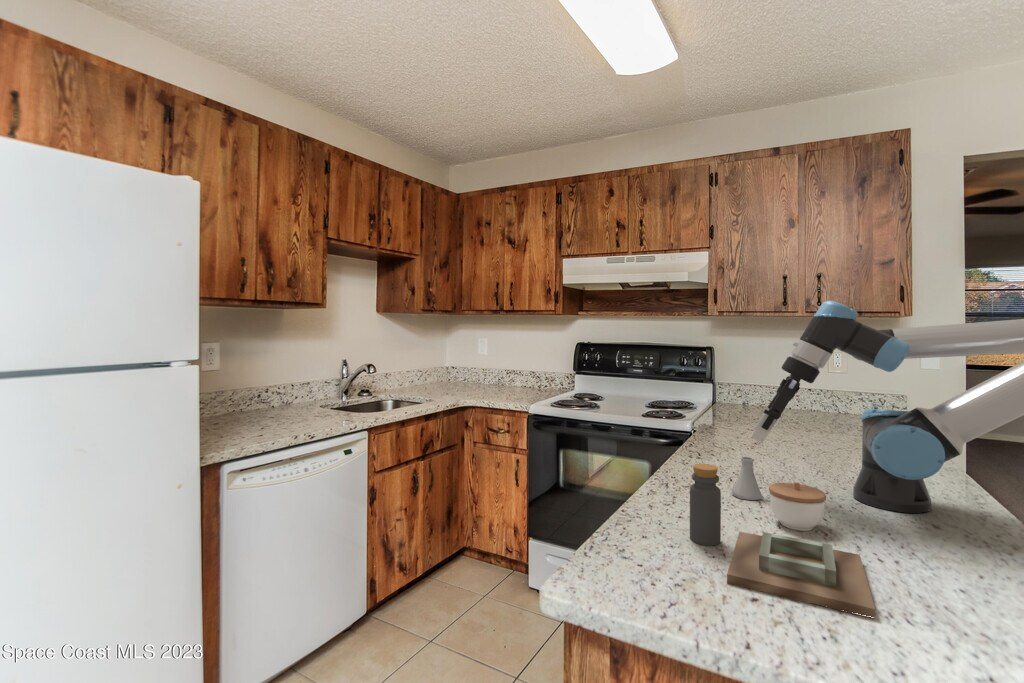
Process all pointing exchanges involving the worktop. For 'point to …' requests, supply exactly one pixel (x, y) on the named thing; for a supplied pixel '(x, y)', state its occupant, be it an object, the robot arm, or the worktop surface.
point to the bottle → (705, 506)
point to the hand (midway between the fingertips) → (757, 435)
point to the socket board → (801, 571)
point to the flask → (747, 482)
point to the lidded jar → (797, 505)
